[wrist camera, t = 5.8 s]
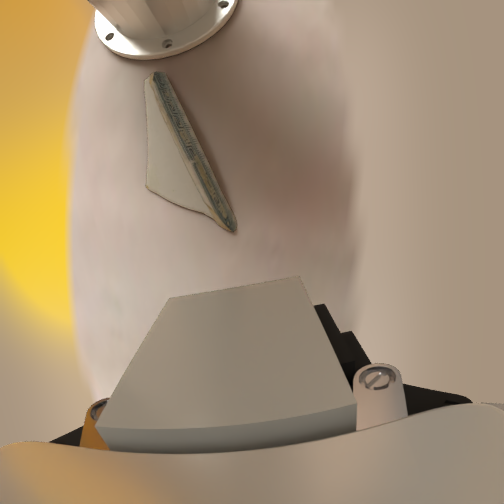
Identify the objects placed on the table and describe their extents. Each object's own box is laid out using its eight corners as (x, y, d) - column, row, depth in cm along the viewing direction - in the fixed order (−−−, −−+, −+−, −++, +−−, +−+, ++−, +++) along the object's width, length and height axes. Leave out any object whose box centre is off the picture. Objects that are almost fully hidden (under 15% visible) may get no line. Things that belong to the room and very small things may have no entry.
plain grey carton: (169, 297, 12) (94, 426, 5) (299, 276, 11) (357, 403, 5) (201, 396, 13) (177, 529, 6) (312, 380, 13) (348, 515, 6)
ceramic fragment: (240, 227, 23) (237, 233, 19) (179, 254, 23) (165, 265, 20) (169, 70, 21) (155, 51, 17) (113, 101, 21) (92, 88, 17)
